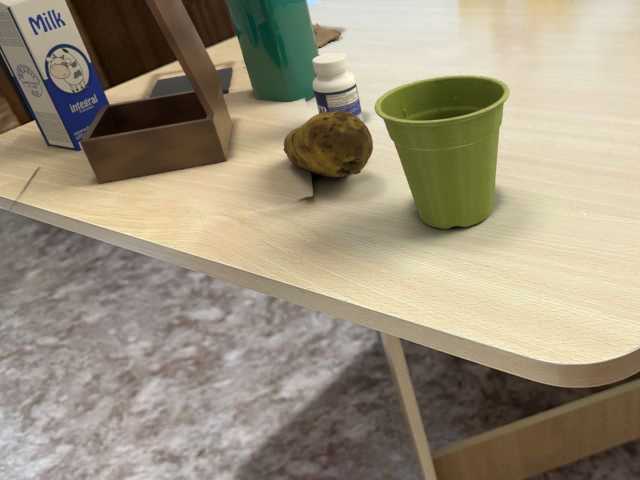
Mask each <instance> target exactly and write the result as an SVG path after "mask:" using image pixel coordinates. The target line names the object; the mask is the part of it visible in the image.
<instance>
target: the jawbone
mask: <svg viewBox="0 0 640 480" xmlns="http://www.w3.org/2000/svg"><path fill="white" fill-rule="evenodd" d="M312 26H313V31H314V35H315V40H316V44H317V48H318V49H319V48H321V47H323V46H325V45H326V44H328V43H329V42H331V41H333V40H335V39H337V38H340V37H341V36H342V35H343V33H342V31H340V30H338V29H335V28H334V29H333V28H332V29H331V28H325V27H322V26H320V24H319V23H315V24H313V23H312Z"/></svg>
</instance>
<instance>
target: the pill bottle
mask: <svg viewBox="0 0 640 480" xmlns="http://www.w3.org/2000/svg"><path fill="white" fill-rule="evenodd" d="M312 62H313V67H314V71H315V73H316V74H317V75H318V76H317V77H316V78H315V79H314V81H313V90H314V94H315V96H314V97H315V101H316V105H317V110H318V114H320V113H322V112H330V111H331V112H336V111H346V112H349V113H351V114H353V115H355V116H357V117H358V118H359V119H360V120H361V121H362V122H363V123H364V124H365V118H364V114H363V111H362V109H363V108H362V105H361V100H360V94H359V89H358V84H357V79H356V76H355V75H354V74H353V73H352V72H351V71H349V70H347V69H348V68H349V67H348V59H347V55H346V54H345V53H343V52H327V53H322V54H319V56H317V57H315V58H314V59H313V60H312ZM365 125H366V124H365Z"/></svg>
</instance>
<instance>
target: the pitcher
mask: <svg viewBox="0 0 640 480" xmlns="http://www.w3.org/2000/svg"><path fill="white" fill-rule="evenodd" d="M226 4H227V8H228V10H229V13H230V17H231V20H232V24H233V28H234V30H235V34H236V38H237V41H238V44H239V47H240V51H241V54H242V58H243V61H244V65H245V69H246V71H247V75H248V78H249V82H250V85H251V89H252V92H253V95H254V99H255V100H258V101H267V102H268V101H269V102H278V103H279V102H280V103H292V102H298V101H300V100H303V99H304V101H305V102H306V101H309V100H310V99H312V98H314V97H315V94H314V90H313V81H314V79H315V78H316V77H317V76H318V75H317V74H316V73H315V71H314V67H313V62H312V60H313V59H314V58H315V57H317V56H320V54H319V48H317V44H316V40H315V35H314V31H313V26H312V24H313V22H312V18H311V14H310V10H309V5H308V1H307V0H226Z"/></svg>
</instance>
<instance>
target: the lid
mask: <svg viewBox="0 0 640 480" xmlns="http://www.w3.org/2000/svg"><path fill="white" fill-rule="evenodd" d="M145 2H146V4H147V6H148V8H149V10H150V12H151V13H152V15H153V17H154V19H155V21H156V22H157V25H158V27H159V28H160V30H161V32H162V34H163V36H164V38H165V40H166V41H167V43H168V45H169V47H170V49H171V50H172V52H173V54H174V56H175V59H176V60H177V62H178V64H179V66H180V67H181V69H182V71H183V73H184V75H186V77H187V78H188V80H189V82H190V84H191V86H192V88H193V90H194V91H195V93H196V95H197V97H198V99H199V101H200V103H201V104H202V106H203V108H204V110H205V112H206V114H207V116H210V115H213V114H214V113H215V109H216V104H217V100H218V95H219V91H220V87H221V82H222V80H221V78H220V76H219V74H218V72H217V70H218V69H216V66H215V64H214V62H213V61H212V58H211V57H210V55H209V52H208V50H207V49H206V47H205V44H204V42H203V40H202V39H201V37H200V35H199V33H198V30H197V29H196V26H195V25H194V23H193V21H192V19H191V16H190V15H189V13H188V11H187V9H186V7H185V5H184V4H183V1H182V0H145Z"/></svg>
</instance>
